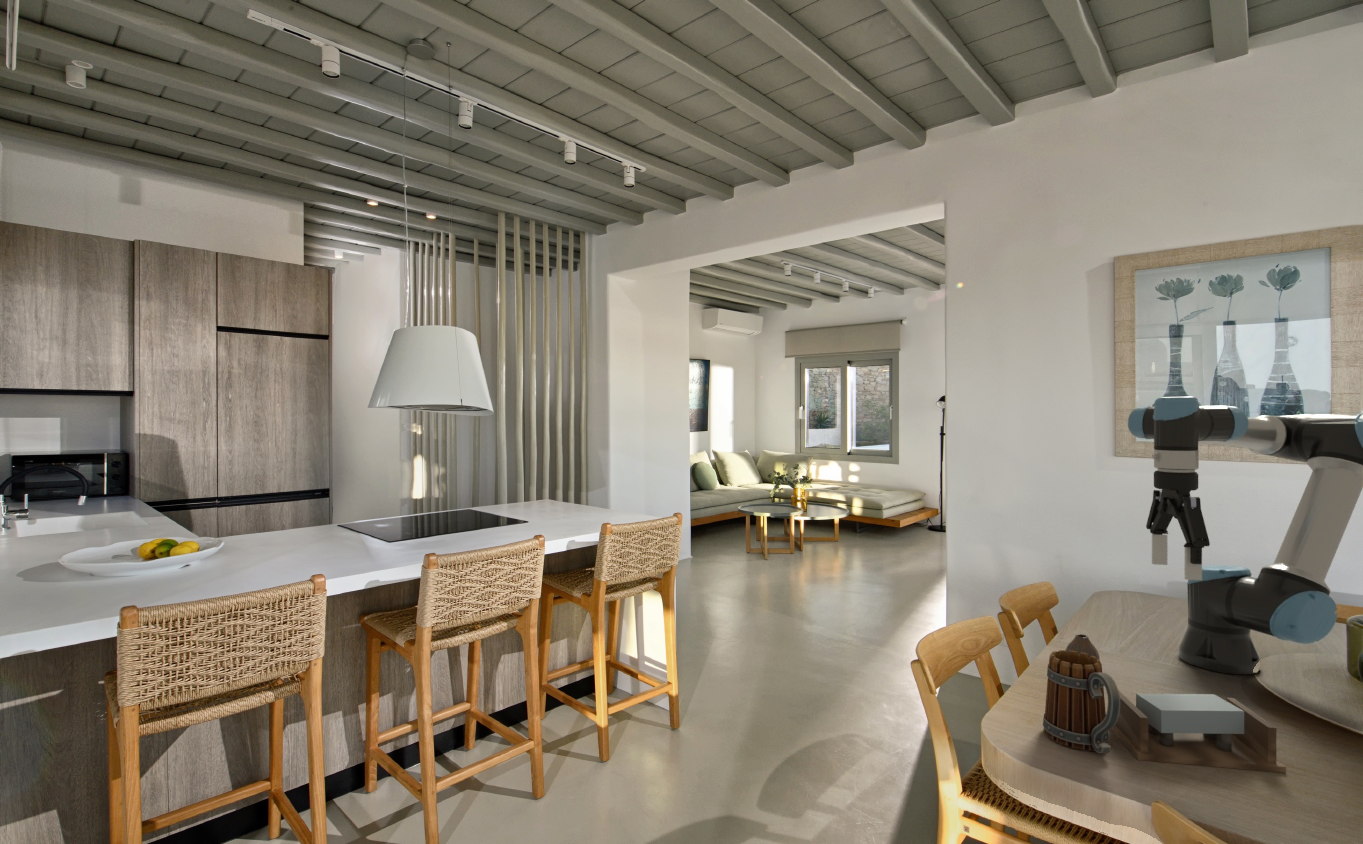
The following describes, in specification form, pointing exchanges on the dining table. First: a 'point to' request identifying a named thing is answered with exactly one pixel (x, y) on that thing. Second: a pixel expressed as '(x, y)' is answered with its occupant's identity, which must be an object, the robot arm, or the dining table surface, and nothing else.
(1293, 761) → the dining table surface
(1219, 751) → the peg frame
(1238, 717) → the board
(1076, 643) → the vase
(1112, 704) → the mug
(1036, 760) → the dining table surface
